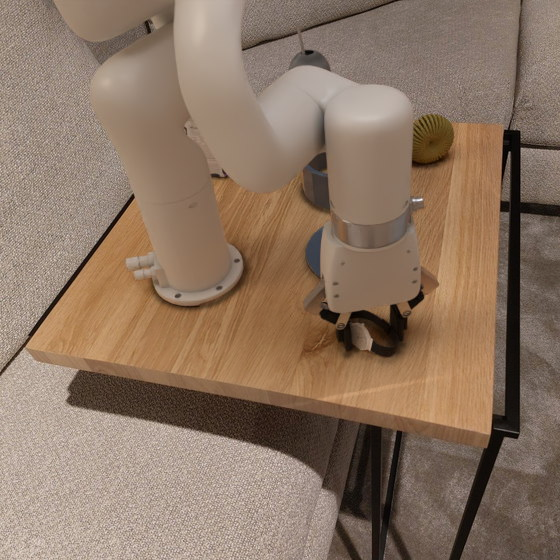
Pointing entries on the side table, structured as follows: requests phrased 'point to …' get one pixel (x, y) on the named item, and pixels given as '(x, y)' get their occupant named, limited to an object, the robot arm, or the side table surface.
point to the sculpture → (431, 138)
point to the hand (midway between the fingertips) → (371, 336)
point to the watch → (363, 337)
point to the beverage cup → (308, 56)
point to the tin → (316, 181)
